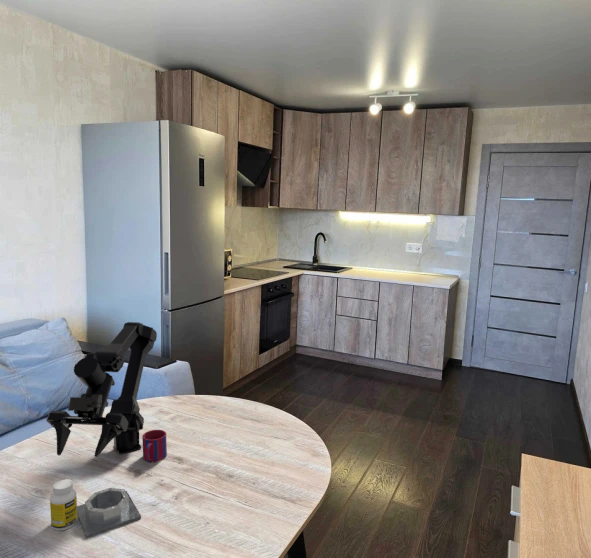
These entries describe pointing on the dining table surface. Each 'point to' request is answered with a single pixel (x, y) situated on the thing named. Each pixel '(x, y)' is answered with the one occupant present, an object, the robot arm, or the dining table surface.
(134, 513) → the collar
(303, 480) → the dining table surface
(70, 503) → the supplement bottle
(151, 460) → the mug
